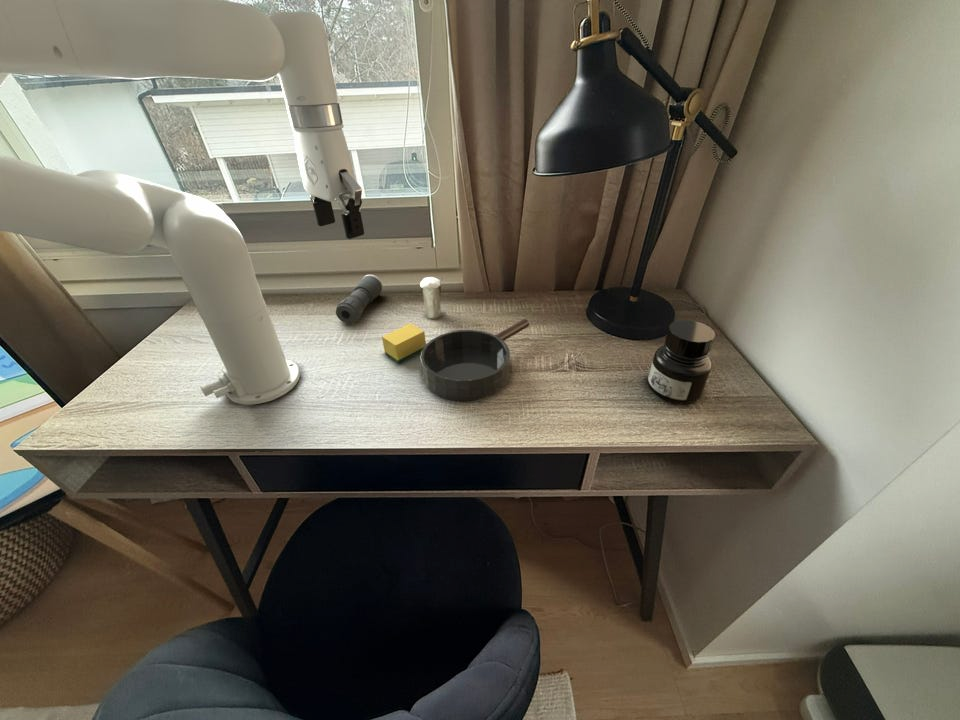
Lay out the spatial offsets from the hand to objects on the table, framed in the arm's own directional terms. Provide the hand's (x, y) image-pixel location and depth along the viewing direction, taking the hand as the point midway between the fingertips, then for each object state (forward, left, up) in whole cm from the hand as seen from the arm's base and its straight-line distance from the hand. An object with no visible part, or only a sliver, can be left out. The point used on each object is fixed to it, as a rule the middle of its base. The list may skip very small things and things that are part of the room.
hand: (340, 230), depth 74 cm
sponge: (+4, -8, -24) cm, 26 cm away
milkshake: (+18, -1, -24) cm, 30 cm away
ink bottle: (+30, -52, -24) cm, 65 cm away
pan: (+8, -22, -24) cm, 34 cm away
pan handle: (+21, -22, -22) cm, 37 cm away
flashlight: (+8, +15, -24) cm, 30 cm away
